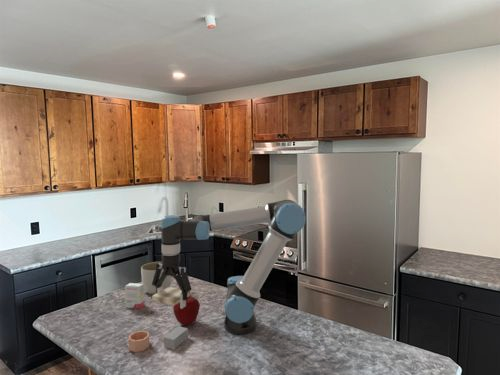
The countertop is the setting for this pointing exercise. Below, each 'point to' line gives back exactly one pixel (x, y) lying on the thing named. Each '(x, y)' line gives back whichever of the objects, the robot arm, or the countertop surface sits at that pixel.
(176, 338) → the grey rectangular block
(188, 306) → the apple
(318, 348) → the countertop surface
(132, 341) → the bowl
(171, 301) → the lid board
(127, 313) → the countertop surface
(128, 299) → the ink box
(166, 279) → the planter
